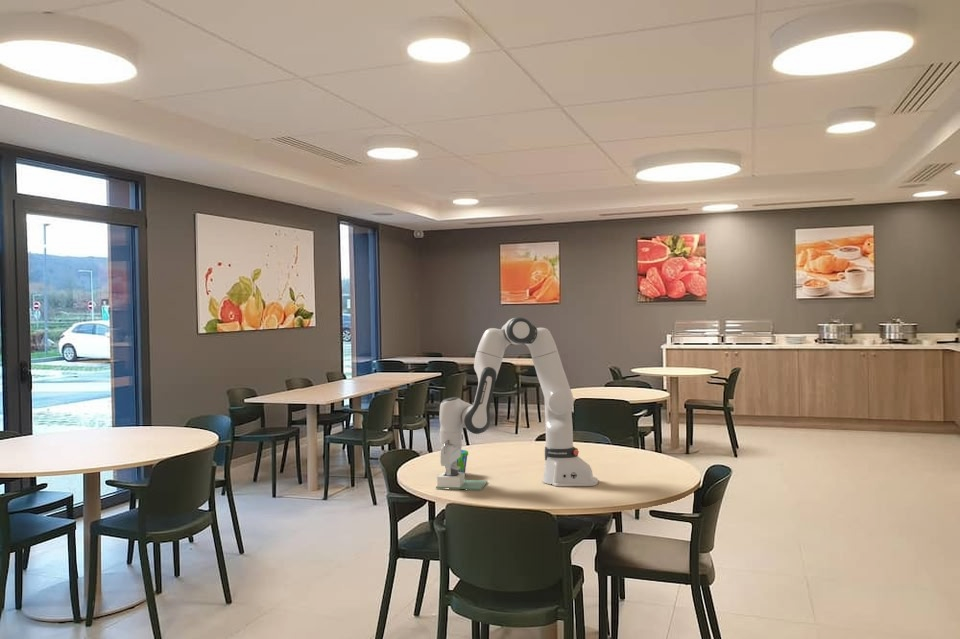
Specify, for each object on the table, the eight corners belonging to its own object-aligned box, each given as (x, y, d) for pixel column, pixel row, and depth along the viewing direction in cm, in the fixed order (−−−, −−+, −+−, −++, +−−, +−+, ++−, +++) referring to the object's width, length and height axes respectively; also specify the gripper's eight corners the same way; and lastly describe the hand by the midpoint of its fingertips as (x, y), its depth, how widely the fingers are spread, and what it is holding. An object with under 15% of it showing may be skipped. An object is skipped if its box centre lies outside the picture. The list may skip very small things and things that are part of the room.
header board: (487, 482, 278) (487, 470, 278) (480, 490, 264) (480, 478, 264) (444, 481, 282) (444, 469, 282) (435, 489, 268) (435, 476, 268)
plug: (455, 483, 274) (460, 466, 273) (453, 485, 270) (458, 468, 269) (444, 479, 274) (449, 463, 274) (442, 482, 271) (447, 465, 270)
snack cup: (441, 472, 300) (441, 448, 300) (465, 470, 302) (464, 447, 302) (446, 479, 284) (446, 455, 284) (471, 478, 286) (471, 454, 286)
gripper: (452, 442, 261) (452, 478, 261) (463, 434, 281) (464, 468, 281) (436, 442, 262) (436, 478, 262) (449, 434, 282) (449, 467, 282)
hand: (451, 473), depth 272 cm, fingers open, 6 cm apart
